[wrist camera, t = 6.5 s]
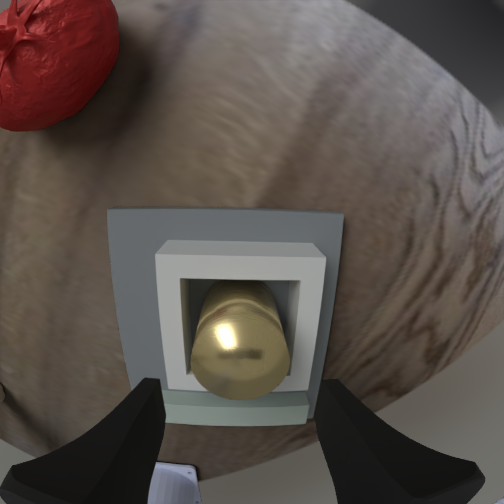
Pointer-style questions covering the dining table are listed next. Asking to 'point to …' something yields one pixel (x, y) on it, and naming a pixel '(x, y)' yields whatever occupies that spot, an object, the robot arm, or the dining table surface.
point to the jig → (197, 284)
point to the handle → (1, 394)
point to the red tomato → (53, 59)
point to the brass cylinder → (239, 341)
